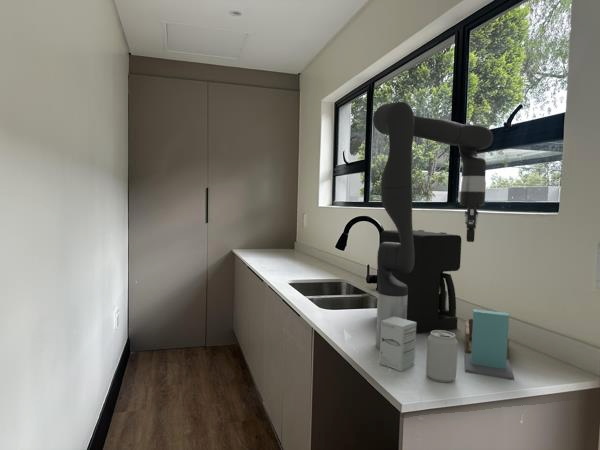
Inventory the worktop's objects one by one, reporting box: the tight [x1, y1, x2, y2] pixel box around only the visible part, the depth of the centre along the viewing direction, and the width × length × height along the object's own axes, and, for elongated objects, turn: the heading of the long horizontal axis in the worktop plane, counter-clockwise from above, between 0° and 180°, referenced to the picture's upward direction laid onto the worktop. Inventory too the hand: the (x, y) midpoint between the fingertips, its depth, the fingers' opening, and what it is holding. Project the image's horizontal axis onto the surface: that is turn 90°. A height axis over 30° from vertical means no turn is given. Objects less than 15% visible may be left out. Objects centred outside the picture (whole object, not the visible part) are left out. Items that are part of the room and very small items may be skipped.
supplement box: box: [378, 317, 417, 372], centre depth 118 cm, size 7×7×13 cm
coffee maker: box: [380, 229, 462, 335], centre depth 160 cm, size 28×20×35 cm
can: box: [425, 330, 459, 383], centre depth 110 cm, size 8×8×12 cm
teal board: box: [471, 308, 510, 369], centre depth 119 cm, size 3×9×15 cm, turn 69°
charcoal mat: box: [464, 352, 515, 380], centre depth 119 cm, size 14×12×1 cm
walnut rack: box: [464, 317, 510, 359], centre depth 135 cm, size 16×12×7 cm
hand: (470, 240), depth 137 cm, fingers open, 8 cm apart
